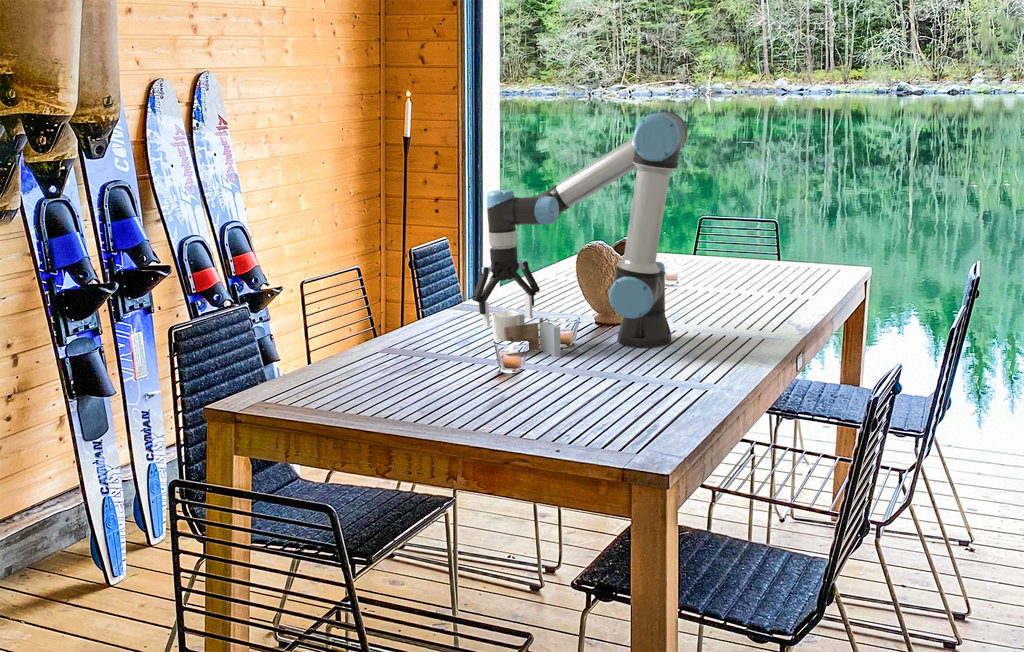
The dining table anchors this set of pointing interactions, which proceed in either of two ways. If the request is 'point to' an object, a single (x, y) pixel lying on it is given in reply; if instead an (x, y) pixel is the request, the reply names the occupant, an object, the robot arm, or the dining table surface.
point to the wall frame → (546, 335)
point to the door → (523, 334)
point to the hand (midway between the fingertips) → (508, 321)
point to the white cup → (503, 323)
